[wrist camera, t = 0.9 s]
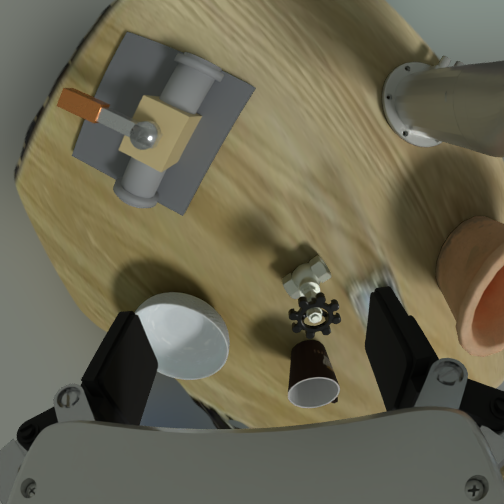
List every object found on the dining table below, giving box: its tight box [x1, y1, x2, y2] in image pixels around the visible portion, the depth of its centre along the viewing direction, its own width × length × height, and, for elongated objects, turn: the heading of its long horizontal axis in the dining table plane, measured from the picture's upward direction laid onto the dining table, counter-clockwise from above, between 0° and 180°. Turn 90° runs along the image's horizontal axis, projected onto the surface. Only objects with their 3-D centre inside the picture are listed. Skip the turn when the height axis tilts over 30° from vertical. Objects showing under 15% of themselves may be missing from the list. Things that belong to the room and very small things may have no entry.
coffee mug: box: [288, 340, 340, 408], centre depth 50 cm, size 12×9×10 cm
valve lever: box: [57, 88, 163, 150], centre depth 28 cm, size 14×3×2 cm, turn 60°
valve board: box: [72, 32, 256, 216], centre depth 33 cm, size 20×20×9 cm
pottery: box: [436, 216, 504, 357], centre depth 38 cm, size 22×22×14 cm
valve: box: [282, 255, 341, 339], centre depth 41 cm, size 7×7×12 cm
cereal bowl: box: [135, 292, 230, 380], centre depth 49 cm, size 17×17×7 cm
